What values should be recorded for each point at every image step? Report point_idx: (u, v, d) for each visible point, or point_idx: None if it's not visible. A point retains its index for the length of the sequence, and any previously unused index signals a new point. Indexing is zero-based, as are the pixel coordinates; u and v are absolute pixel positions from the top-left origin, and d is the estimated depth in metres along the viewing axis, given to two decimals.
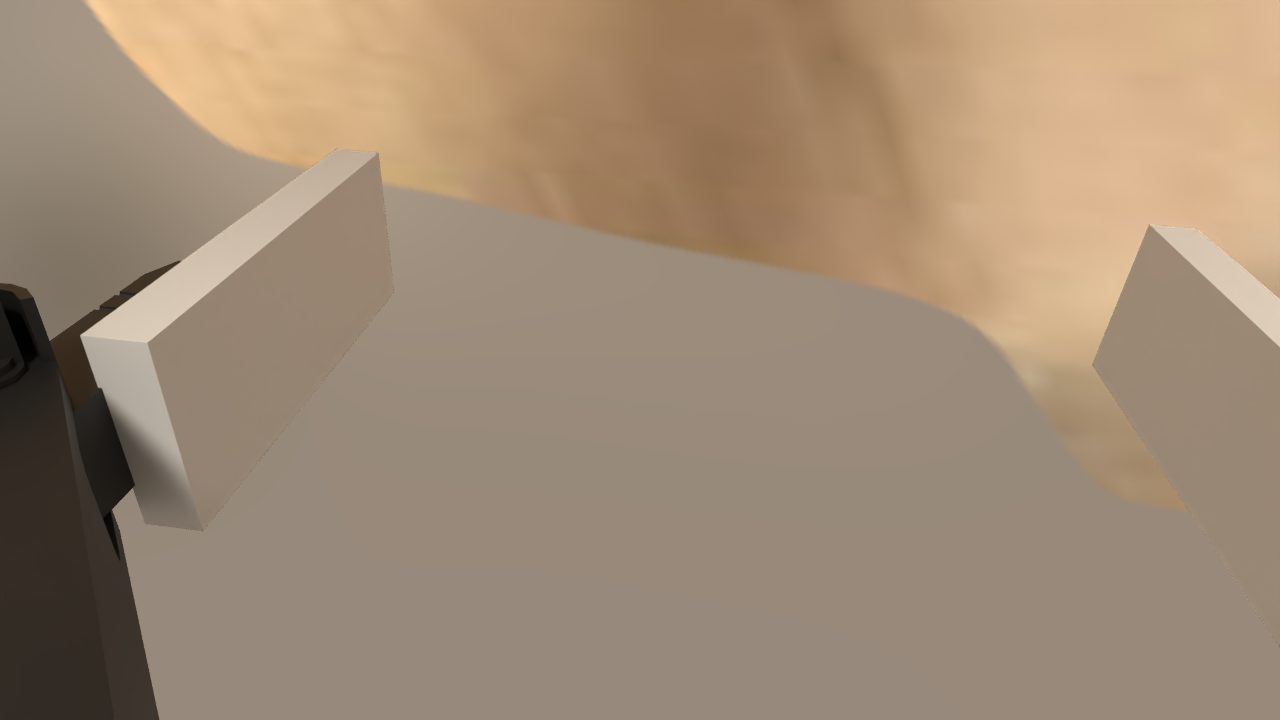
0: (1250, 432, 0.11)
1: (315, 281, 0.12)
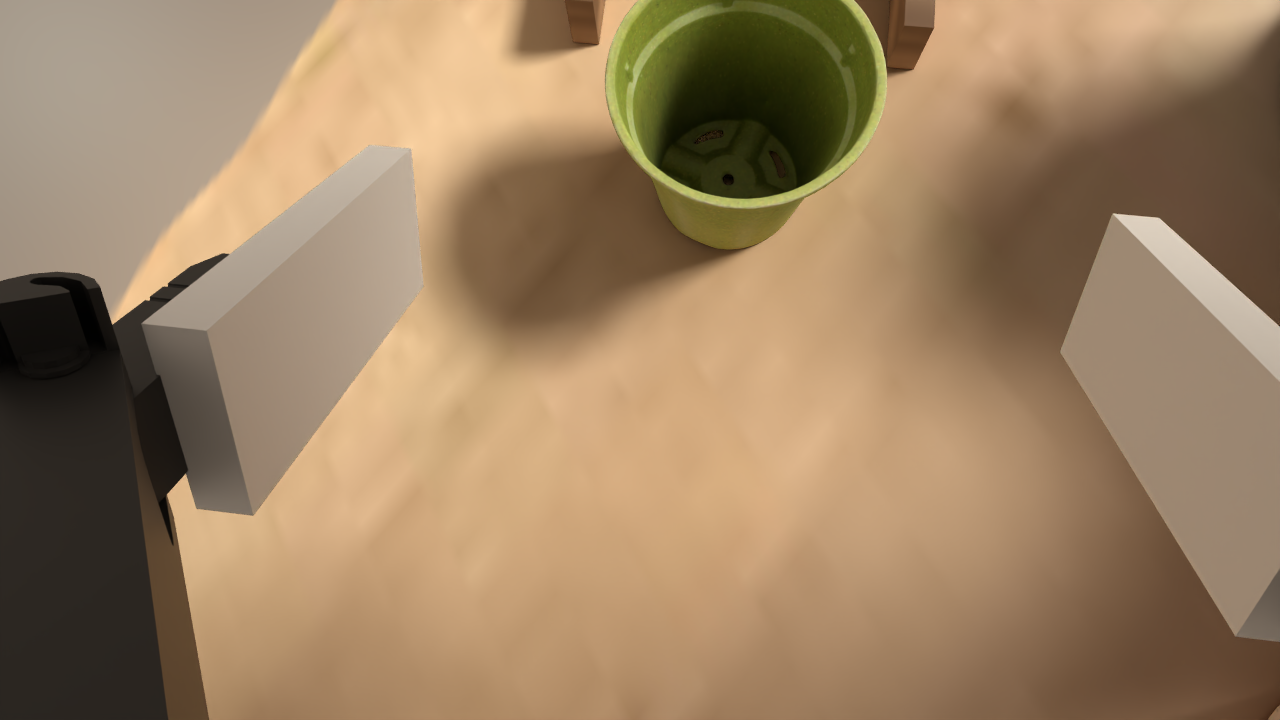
0: (1200, 412, 0.11)
1: (354, 274, 0.13)
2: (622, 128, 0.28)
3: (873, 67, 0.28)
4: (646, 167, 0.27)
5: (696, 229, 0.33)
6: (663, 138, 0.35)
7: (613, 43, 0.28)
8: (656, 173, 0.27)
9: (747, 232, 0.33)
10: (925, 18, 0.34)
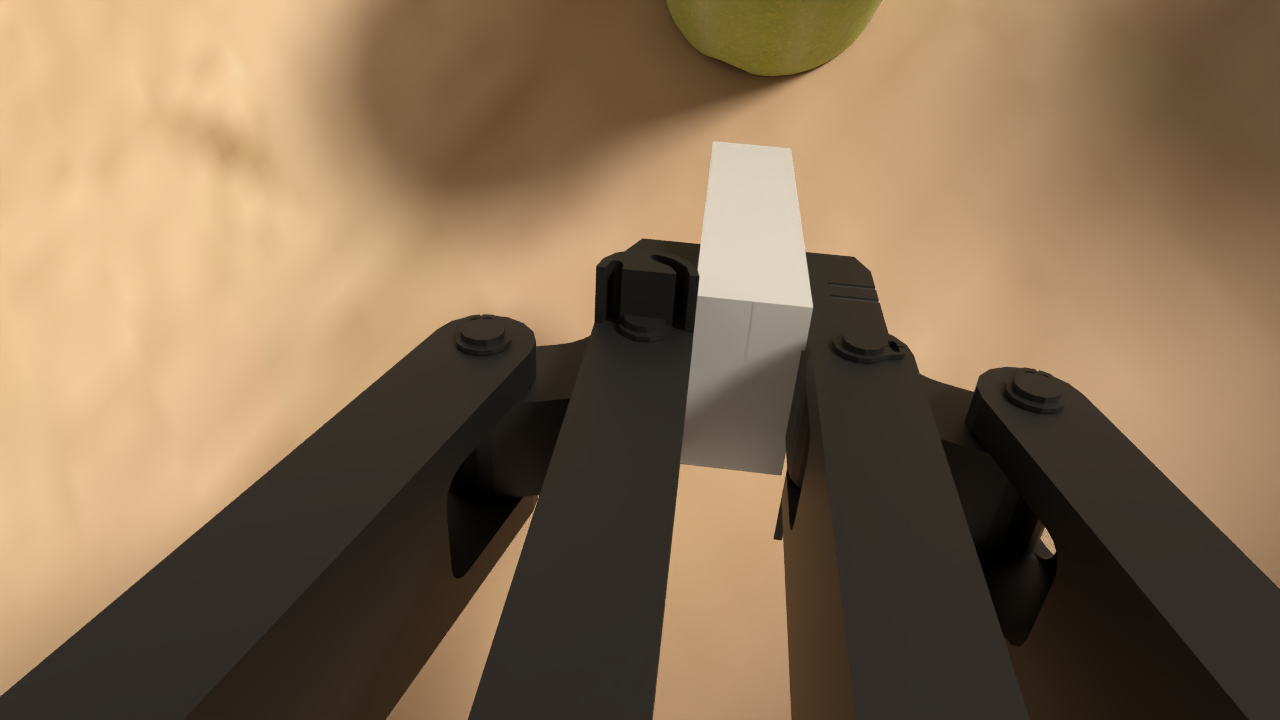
0: None
1: None
2: None
3: None
4: None
5: (725, 27, 0.21)
6: None
7: None
8: None
9: (807, 26, 0.20)
10: None
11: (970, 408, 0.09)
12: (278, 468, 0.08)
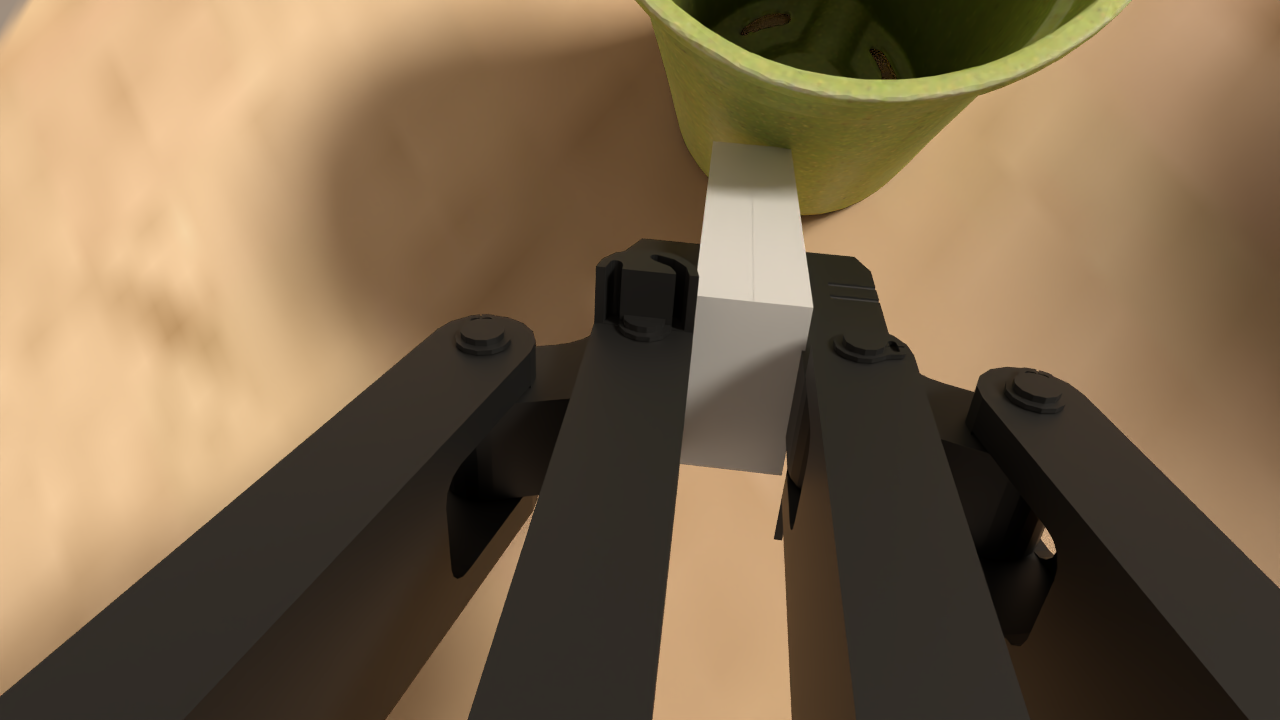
0: None
1: None
2: None
3: None
4: (660, 8, 0.12)
5: None
6: None
7: None
8: (682, 21, 0.12)
9: (844, 179, 0.18)
10: None
11: (970, 408, 0.09)
12: (278, 467, 0.08)
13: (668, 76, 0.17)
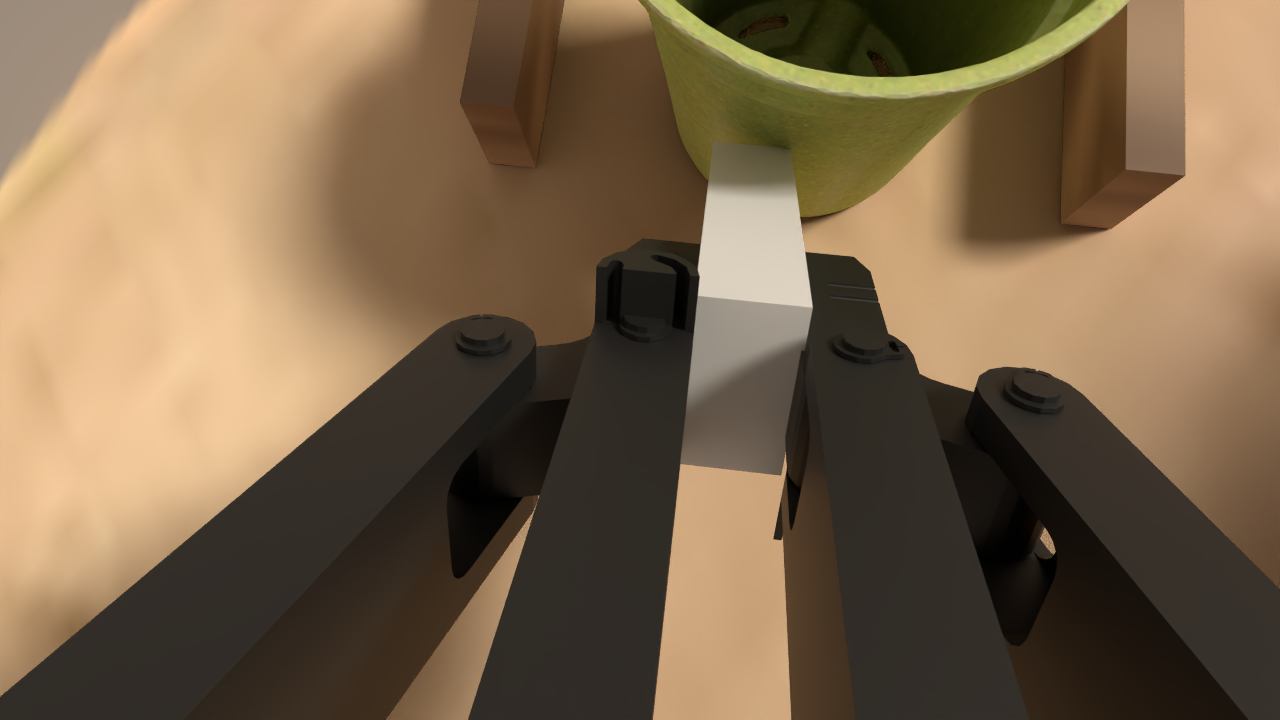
0: None
1: None
2: None
3: None
4: (661, 6, 0.12)
5: None
6: None
7: None
8: (684, 19, 0.12)
9: (843, 180, 0.18)
10: (1167, 155, 0.17)
11: (970, 408, 0.09)
12: (279, 467, 0.08)
13: (667, 77, 0.17)
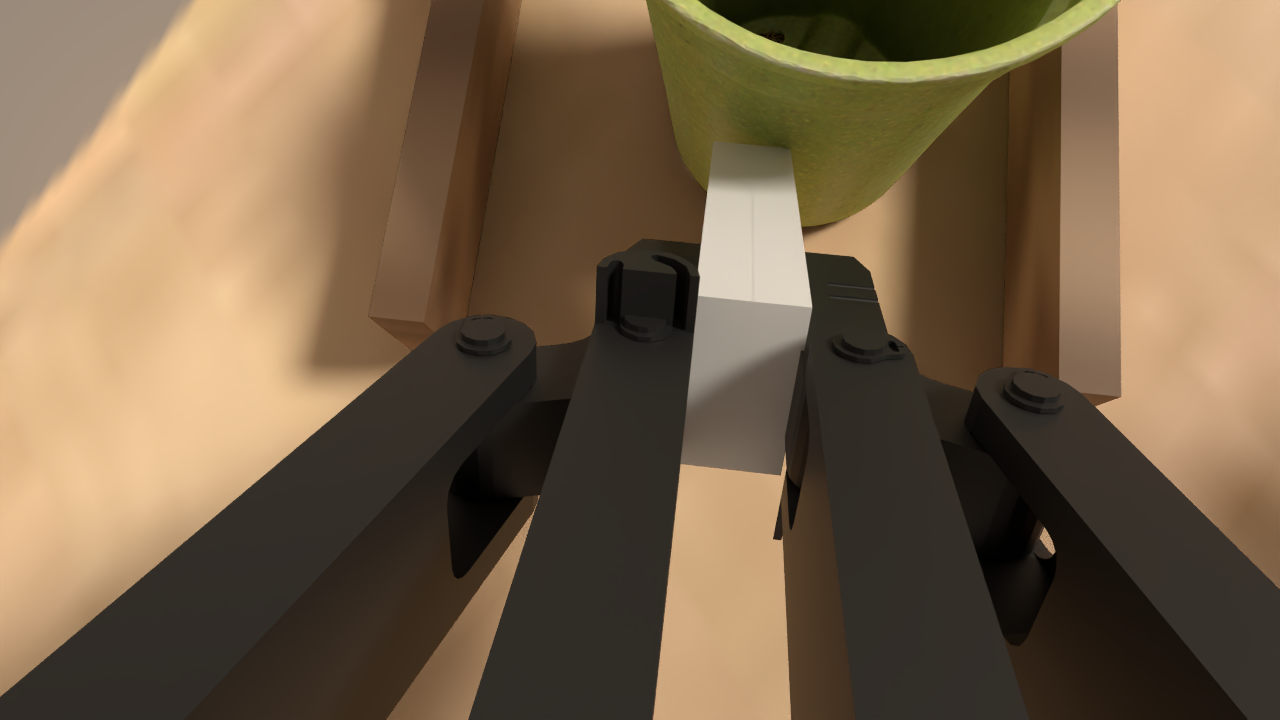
0: None
1: None
2: None
3: None
4: None
5: None
6: None
7: None
8: (687, 3, 0.12)
9: (842, 185, 0.18)
10: (1102, 375, 0.17)
11: (969, 408, 0.09)
12: (279, 467, 0.08)
13: (667, 81, 0.17)
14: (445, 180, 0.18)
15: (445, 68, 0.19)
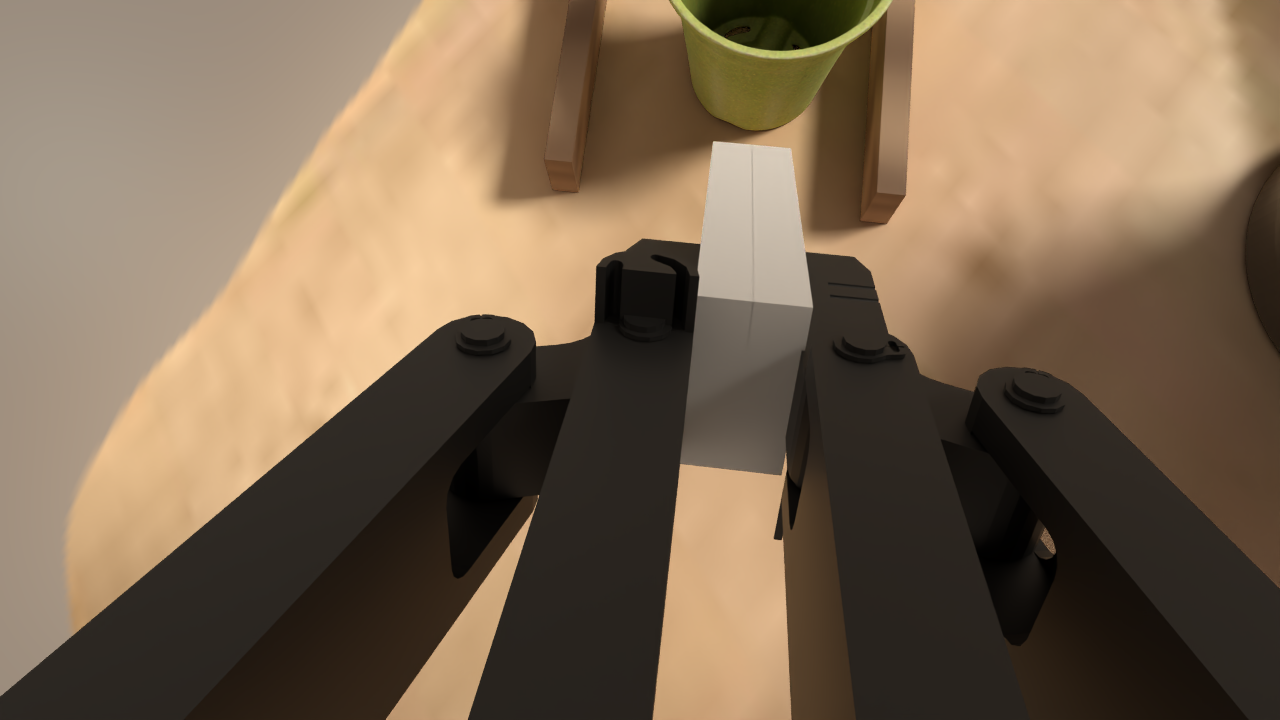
0: None
1: None
2: None
3: None
4: (694, 23, 0.31)
5: (729, 104, 0.37)
6: None
7: None
8: (703, 28, 0.31)
9: (775, 105, 0.36)
10: (897, 185, 0.35)
11: (970, 408, 0.09)
12: (279, 467, 0.08)
13: (690, 56, 0.36)
14: (579, 94, 0.36)
15: (577, 39, 0.37)
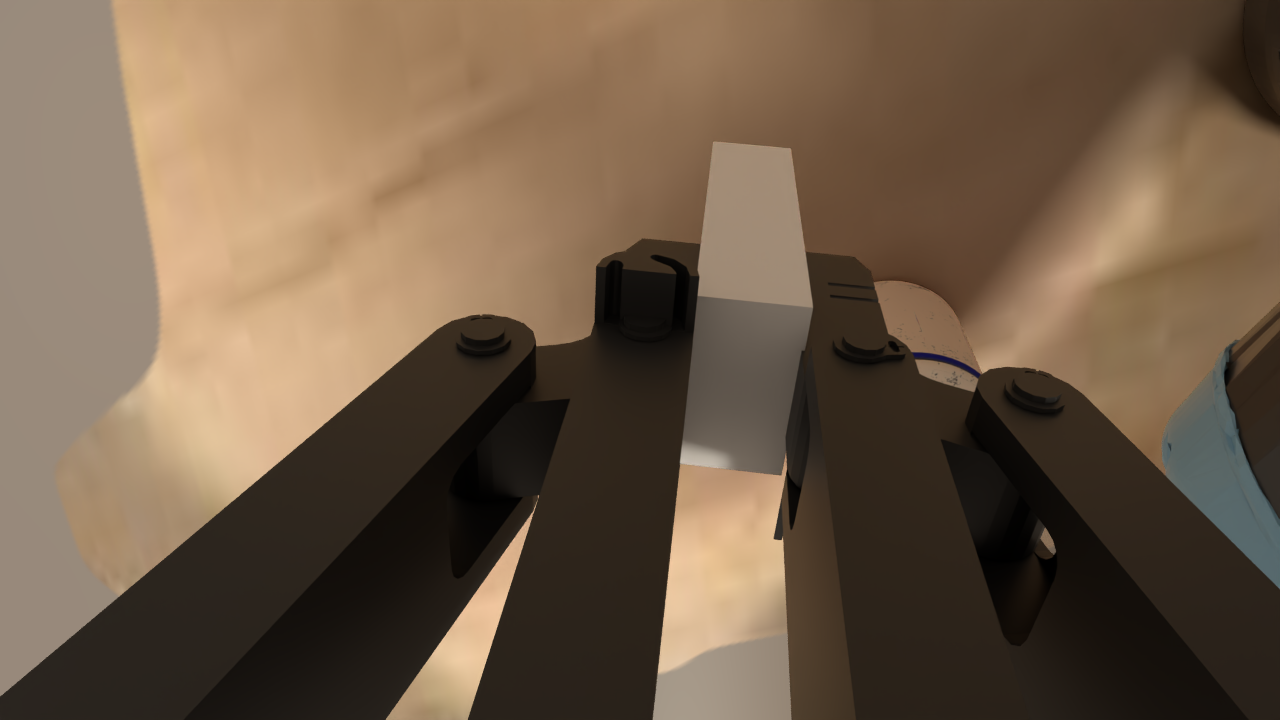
0: None
1: None
2: None
3: None
4: None
5: None
6: None
7: None
8: None
9: None
10: None
11: (970, 408, 0.09)
12: (278, 467, 0.08)
13: None
14: None
15: None
